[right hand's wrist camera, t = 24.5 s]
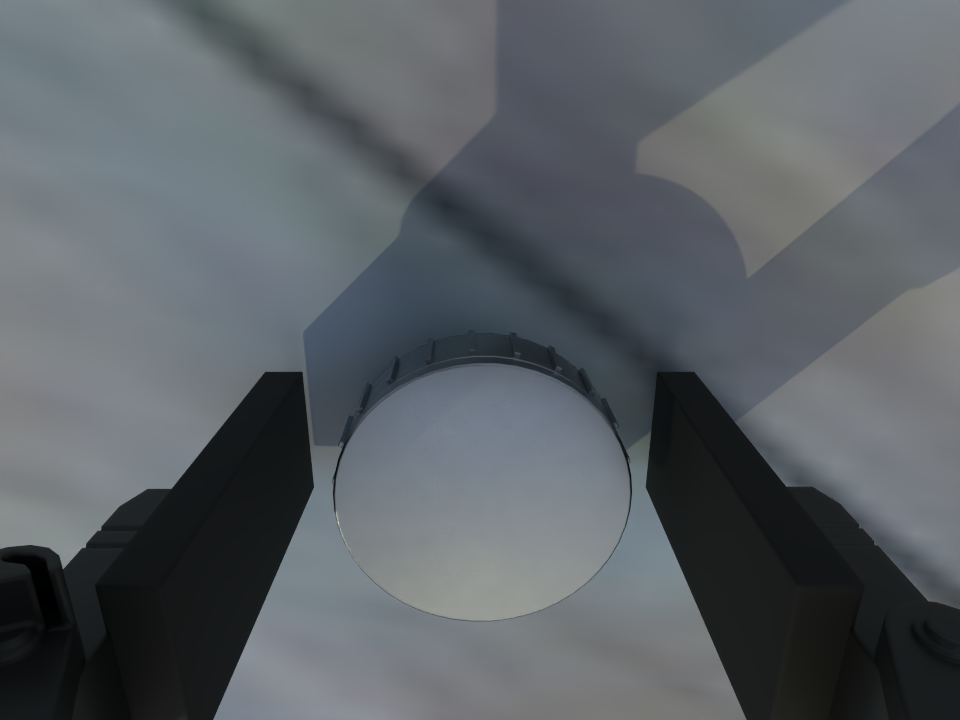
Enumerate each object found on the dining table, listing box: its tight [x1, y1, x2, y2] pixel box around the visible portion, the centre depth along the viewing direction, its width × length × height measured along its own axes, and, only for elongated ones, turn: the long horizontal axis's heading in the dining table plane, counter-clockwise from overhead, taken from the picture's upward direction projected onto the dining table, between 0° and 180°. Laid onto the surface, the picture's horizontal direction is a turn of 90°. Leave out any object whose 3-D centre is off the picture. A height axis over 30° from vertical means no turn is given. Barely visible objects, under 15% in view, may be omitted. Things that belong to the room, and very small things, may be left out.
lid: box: [333, 330, 632, 621], centre depth 13 cm, size 5×6×2 cm
